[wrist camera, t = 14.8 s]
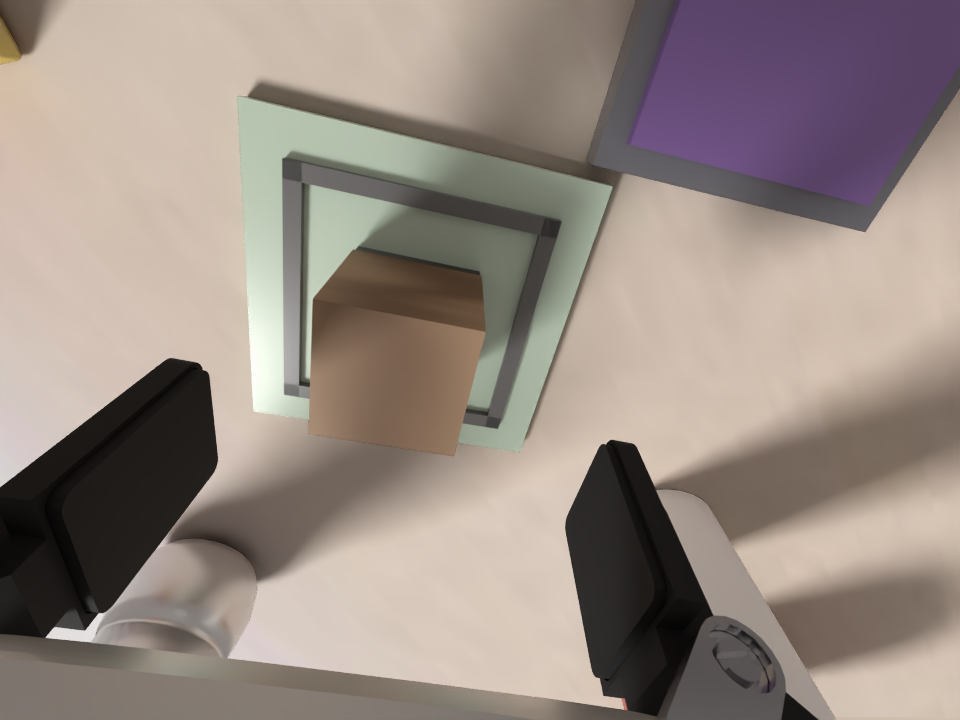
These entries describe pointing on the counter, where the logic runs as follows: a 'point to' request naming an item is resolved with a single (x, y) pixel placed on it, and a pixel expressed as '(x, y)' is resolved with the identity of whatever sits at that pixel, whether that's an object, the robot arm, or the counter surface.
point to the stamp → (395, 351)
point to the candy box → (7, 45)
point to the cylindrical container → (736, 590)
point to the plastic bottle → (184, 601)
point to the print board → (408, 248)
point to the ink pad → (780, 99)
